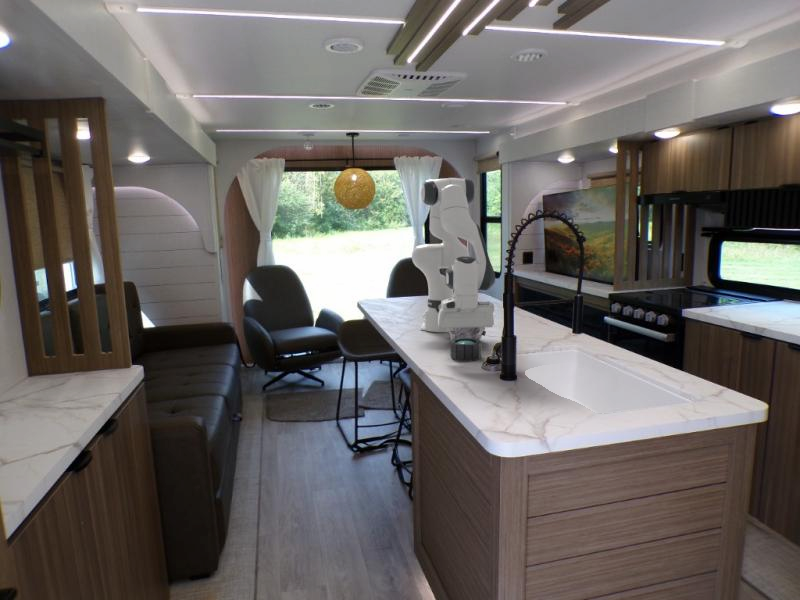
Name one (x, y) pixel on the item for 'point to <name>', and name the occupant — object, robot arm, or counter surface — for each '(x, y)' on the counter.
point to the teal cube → (465, 342)
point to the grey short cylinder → (465, 350)
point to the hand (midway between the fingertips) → (465, 339)
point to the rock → (467, 332)
